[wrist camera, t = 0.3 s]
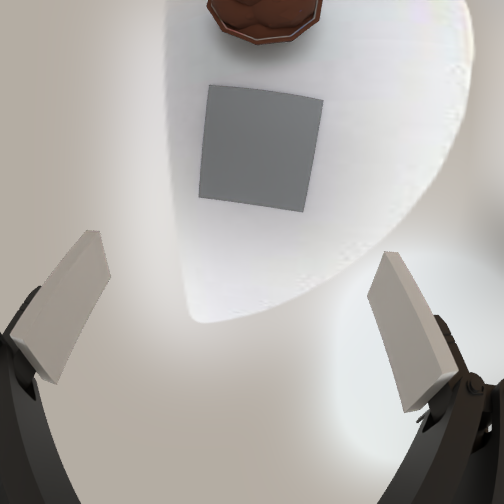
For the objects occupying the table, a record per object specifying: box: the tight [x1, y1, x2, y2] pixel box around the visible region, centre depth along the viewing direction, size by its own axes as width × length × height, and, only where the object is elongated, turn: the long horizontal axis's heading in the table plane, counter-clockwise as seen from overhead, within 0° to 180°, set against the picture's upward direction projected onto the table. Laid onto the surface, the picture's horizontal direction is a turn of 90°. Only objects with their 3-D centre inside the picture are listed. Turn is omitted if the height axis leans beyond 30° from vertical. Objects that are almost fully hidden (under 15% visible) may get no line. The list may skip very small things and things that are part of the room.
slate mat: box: [199, 85, 323, 212], centre depth 35 cm, size 15×14×1 cm
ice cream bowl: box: [207, 0, 323, 45], centre depth 20 cm, size 11×11×15 cm
